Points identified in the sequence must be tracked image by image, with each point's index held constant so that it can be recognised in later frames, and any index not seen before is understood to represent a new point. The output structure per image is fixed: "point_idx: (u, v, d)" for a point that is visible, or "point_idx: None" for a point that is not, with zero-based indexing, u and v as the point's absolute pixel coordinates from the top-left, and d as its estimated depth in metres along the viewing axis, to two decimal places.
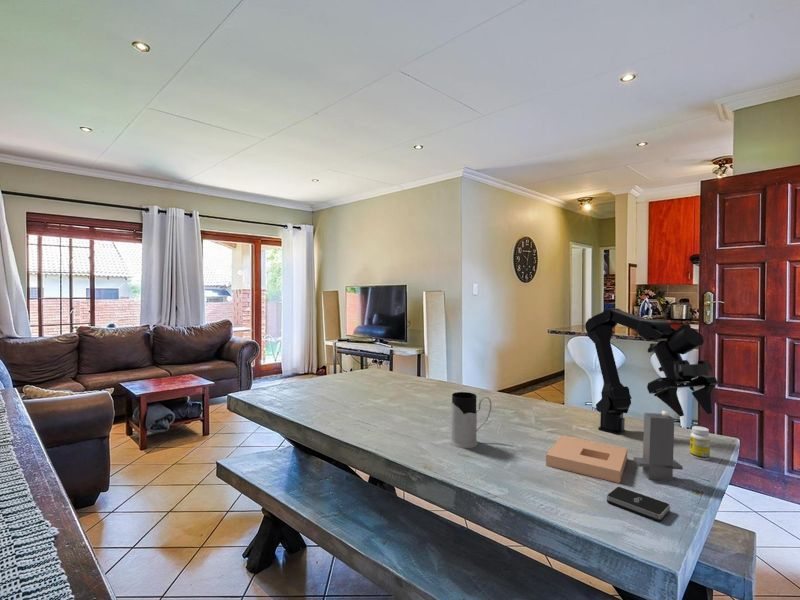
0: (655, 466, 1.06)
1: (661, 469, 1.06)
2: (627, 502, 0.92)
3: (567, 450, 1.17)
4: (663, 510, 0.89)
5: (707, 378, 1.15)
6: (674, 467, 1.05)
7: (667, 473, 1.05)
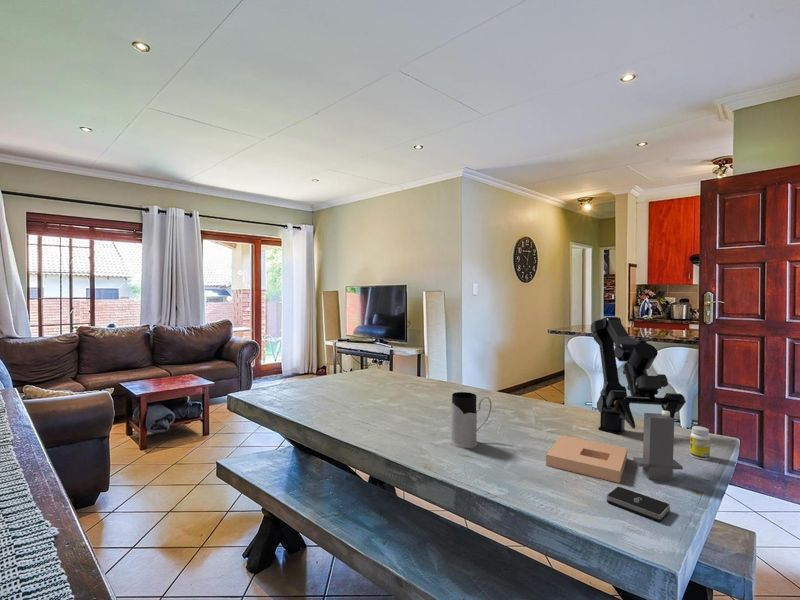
0: (655, 466, 1.06)
1: (661, 469, 1.06)
2: (627, 502, 0.92)
3: (567, 450, 1.17)
4: (663, 510, 0.89)
5: (671, 395, 1.13)
6: (674, 467, 1.05)
7: (667, 473, 1.05)
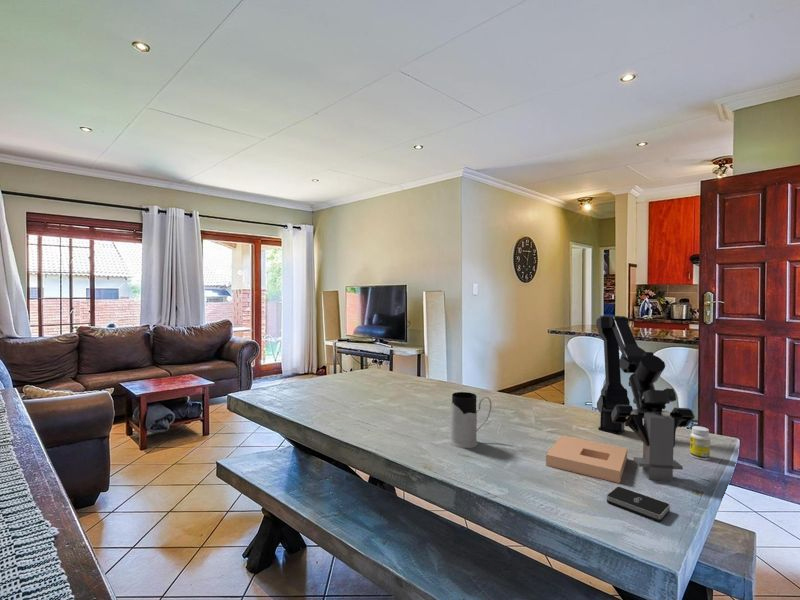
0: (655, 466, 1.06)
1: (661, 469, 1.06)
2: (627, 502, 0.92)
3: (567, 450, 1.17)
4: (663, 510, 0.89)
5: (679, 409, 1.09)
6: (674, 467, 1.05)
7: (667, 473, 1.05)
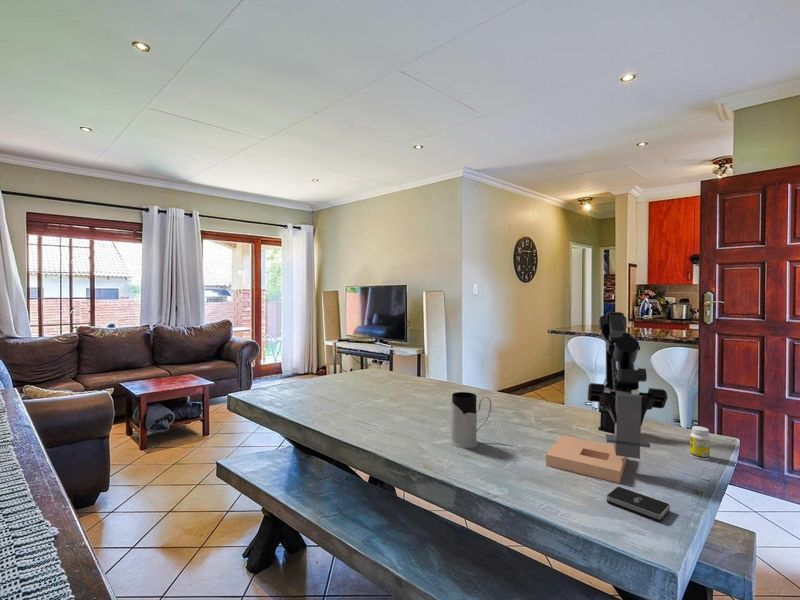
0: (622, 443, 1.09)
1: (628, 446, 1.08)
2: (627, 502, 0.92)
3: (567, 450, 1.17)
4: (663, 510, 0.89)
5: (652, 390, 1.10)
6: (641, 445, 1.07)
7: (634, 450, 1.08)
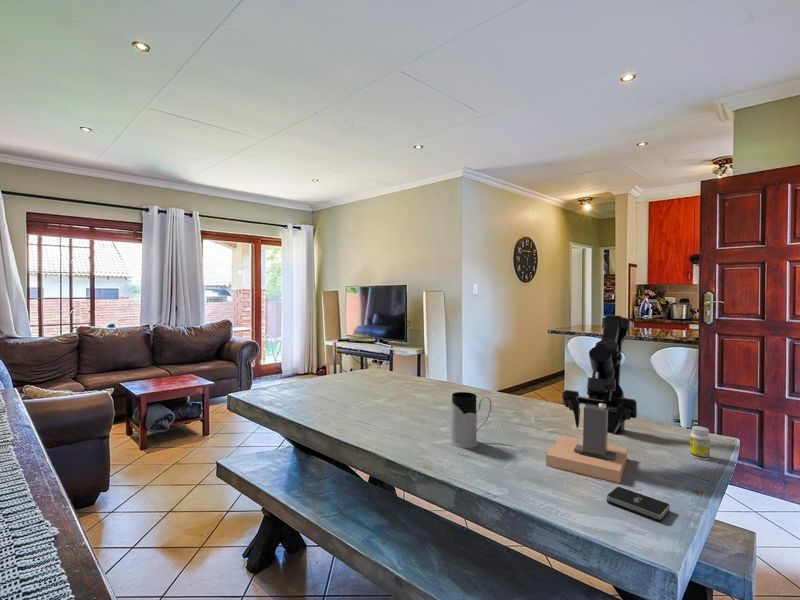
0: (588, 453, 1.13)
1: (594, 457, 1.13)
2: (627, 502, 0.92)
3: (567, 450, 1.17)
4: (663, 510, 0.89)
5: (622, 399, 1.13)
6: (606, 457, 1.11)
7: None
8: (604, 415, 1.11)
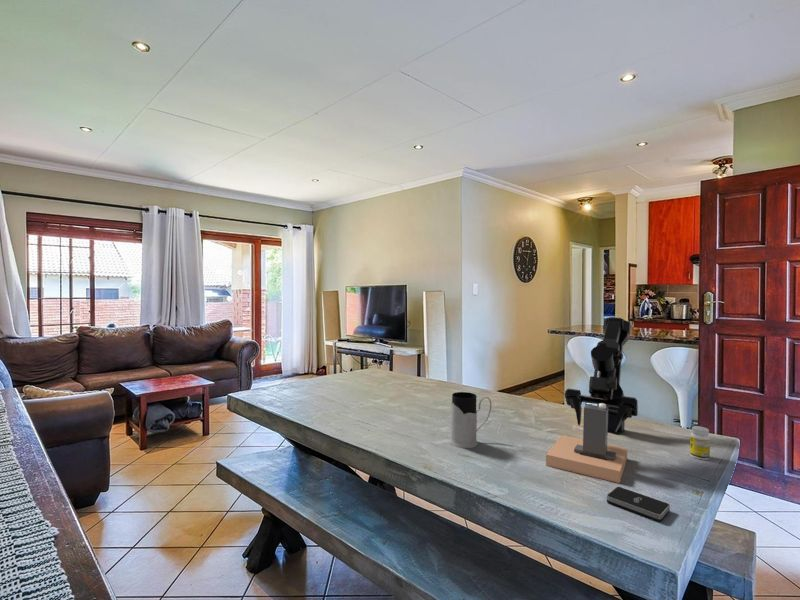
0: (588, 453, 1.13)
1: (594, 457, 1.13)
2: (627, 502, 0.92)
3: (567, 450, 1.17)
4: (663, 510, 0.89)
5: (623, 398, 1.15)
6: (606, 457, 1.11)
7: None
8: (604, 415, 1.11)
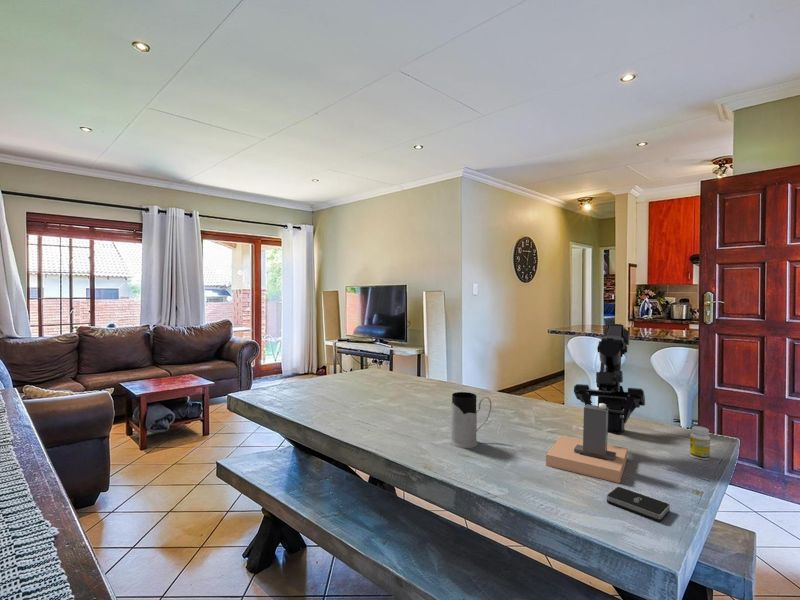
0: (588, 453, 1.13)
1: (594, 457, 1.13)
2: (627, 502, 0.92)
3: (567, 450, 1.17)
4: (663, 510, 0.89)
5: (629, 390, 1.20)
6: (606, 457, 1.11)
7: None
8: (604, 415, 1.11)
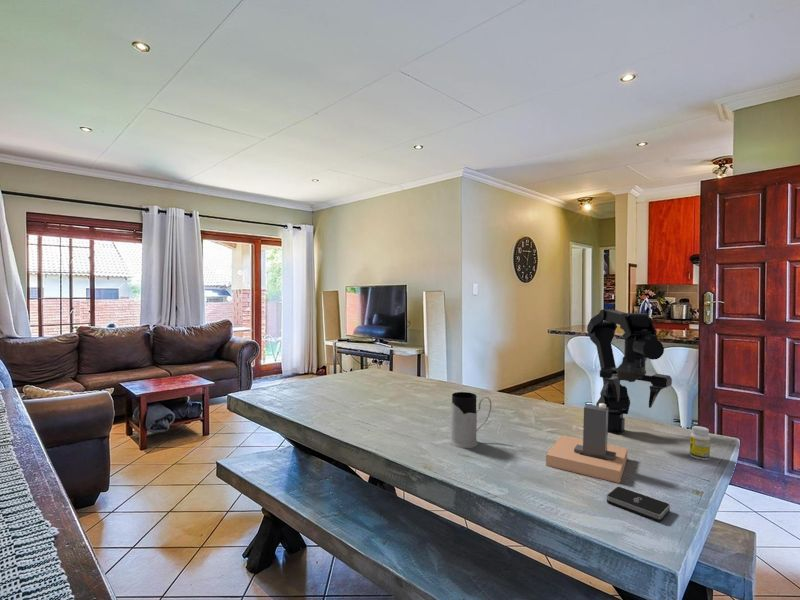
0: (588, 453, 1.13)
1: (594, 457, 1.13)
2: (627, 502, 0.92)
3: (567, 450, 1.17)
4: (663, 510, 0.89)
5: (652, 380, 1.21)
6: (606, 457, 1.11)
7: None
8: (604, 415, 1.11)
